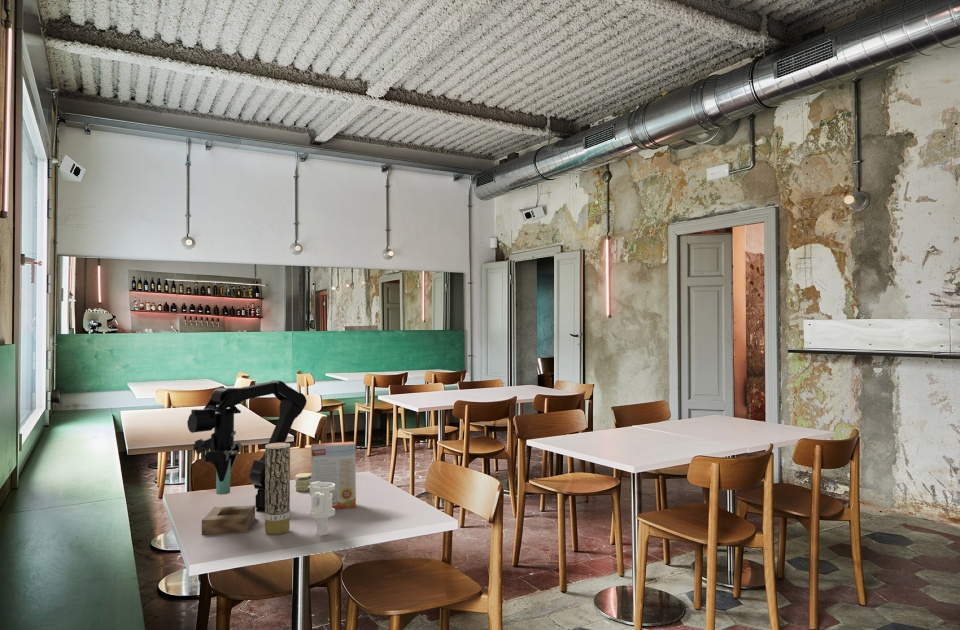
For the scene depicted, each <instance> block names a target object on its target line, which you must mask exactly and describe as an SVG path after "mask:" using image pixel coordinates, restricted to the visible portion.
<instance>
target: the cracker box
mask: <svg viewBox="0 0 960 630" xmlns="http://www.w3.org/2000/svg"><path fill="white" fill-rule="evenodd" d="M310 452H311V453H310V462H311V463H310V466H311V467H310V468H311V469H310V471H311V472H310V473H311V483H312V482H316V481H320V482H330V483H334V484H335V489H334V490H331V491H329V493H332V508H334V509H335V510H337V509H339V510H340V509H349V508H352V509H353V508H356V506H357V503H356V502H357V497H356V494H357V491H356V489H357V488H356V487H357V485H356V476H357V475H356V470H357V469H356V443H355V442H354V441H343V442H342V441H341V442H339V441H338V442H325V443H324V442H323V443H311V444H310ZM324 487H328V486H322V487H320V488H324ZM310 496H311V495H310ZM311 501H312V496H311Z"/></svg>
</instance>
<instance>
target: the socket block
mask: <svg viewBox="0 0 960 630" xmlns="http://www.w3.org/2000/svg"><path fill="white" fill-rule="evenodd" d="M255 519H256V504H255V505H253V504H252V505H237V506H235V505H233V506H214V507H213V508H211V510H210V511H209V512H208V513H207V514H206V515H205V516H204V518H202V519H201V535H215V534H216V535H217V534H218V535H219V534H220V535H221V534H240V533H247V531H248V529H249V528H250V526H251V525H252V524H253V522H254V521H255Z"/></svg>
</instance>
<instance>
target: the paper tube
mask: <svg viewBox="0 0 960 630" xmlns="http://www.w3.org/2000/svg"><path fill="white" fill-rule="evenodd" d="M264 448H265V451H264V453H265V511H264V531H265V533H266V534H267V535H274V536H276V535H283V534H286V533H287V532H289V530H290V524H291V523H290V521H291V520H290V518H291V517H290V514H291V511H290V510H291V507H290V506H291V502H290V501H291V500H290V499H291V488H290V487H291V444H290V443H289V442H285V443H271V444H268V443H267V444H265V447H264Z"/></svg>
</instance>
